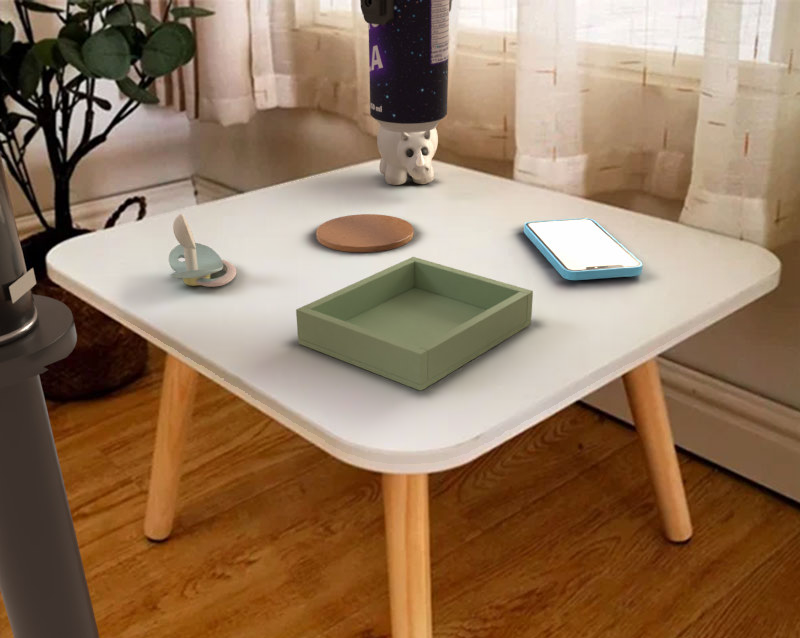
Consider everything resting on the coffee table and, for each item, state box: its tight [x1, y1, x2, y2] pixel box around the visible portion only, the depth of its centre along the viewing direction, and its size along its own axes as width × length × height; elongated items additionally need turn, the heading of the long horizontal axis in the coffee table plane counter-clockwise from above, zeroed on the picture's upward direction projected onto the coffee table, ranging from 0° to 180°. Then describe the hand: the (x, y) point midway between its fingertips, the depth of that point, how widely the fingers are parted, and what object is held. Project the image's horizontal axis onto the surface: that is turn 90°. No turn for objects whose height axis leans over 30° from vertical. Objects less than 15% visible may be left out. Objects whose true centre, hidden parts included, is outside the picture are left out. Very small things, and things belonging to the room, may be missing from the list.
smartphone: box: [523, 217, 644, 281], centre depth 92 cm, size 8×1×15 cm
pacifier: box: [168, 213, 237, 288], centre depth 86 cm, size 7×6×6 cm
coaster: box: [316, 213, 414, 253], centre depth 97 cm, size 10×10×1 cm
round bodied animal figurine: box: [376, 125, 439, 186], centre depth 110 cm, size 7×12×8 cm, turn 8°
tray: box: [295, 256, 534, 392], centre depth 76 cm, size 15×13×3 cm
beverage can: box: [367, 0, 450, 133], centre depth 67 cm, size 6×6×12 cm
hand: (408, 17), depth 66 cm, fingers closed on beverage can, 5 cm apart
